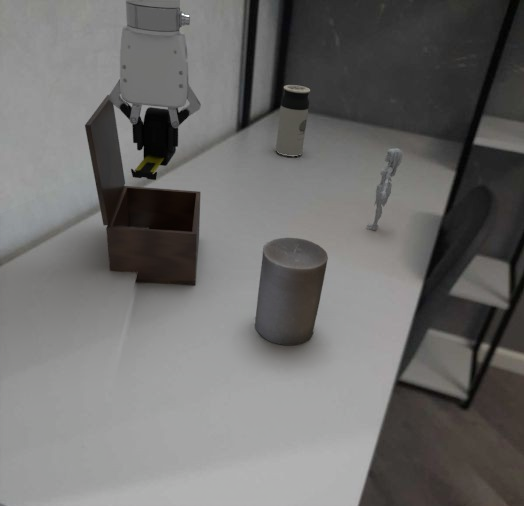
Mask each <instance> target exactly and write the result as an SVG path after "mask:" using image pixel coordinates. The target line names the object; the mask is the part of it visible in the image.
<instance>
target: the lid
mask: <svg viewBox="0 0 524 506" xmlns="http://www.w3.org/2000/svg"><path fill="white" fill-rule="evenodd" d="M109 95H110V94H107V95H105V97H104V99H103V100H102V101H101V103H100V104H99V106H98V107H97V108H96V109H95V111H94V112H93V113H92V115H91V116H90V118H89V119H88V120H87V121H86V123H85V124H84V127H85V128H84V129H85V134H86V140H87V144H88V150H89V155H90V160H91V166H92V172H93V177H94V182H95V183H94V184H95V187H96V191H97V199H98V203H99V209H100V214H101V220H102V224H103V225H102V226H107V225H109V222H110V220H111V217H112V215H113V212H114V210H115V207H116V205H117V202H118V200H119V197H120V195H121V192H122V190H123V187H124V186H126V185H125V184H126V179H125V173H124V167H123V159H122V153H121V144H120V139H119V138H120V137H119V132H118V126H117V120H116V113H115V112H116V111H115V105H114V104H112V103H111V102H110V101H109V100H108V96H109Z"/></svg>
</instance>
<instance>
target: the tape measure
mask: <svg viewBox="0 0 524 506" xmlns="http://www.w3.org/2000/svg"><path fill="white" fill-rule="evenodd" d="M170 121H171V120H170V115H169V111H168V108H161V107H153V106H150V107H149V106H148V108H146V110H145V114H144V117H143V160H141V162H140V163H139V164H138V165H137V167H136V168H135V169H133V168H130V172H131V176H132V178H135V179H142V178H146V179H147V180H152V181H157V176H158V171H157V169H158V168H159V166H163V167H165V166H168V164H169V163H170V161H171V159H172V158H173V157H174V155H175V154H176V151H177V147H174V151H173V153H170V152H169V145H168V128H169V125H170Z"/></svg>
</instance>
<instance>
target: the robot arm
mask: <svg viewBox="0 0 524 506" xmlns="http://www.w3.org/2000/svg"><path fill="white" fill-rule="evenodd" d="M180 5H181V0H125V16H126V17H125V18H126V26H123V27H122V29H121V30H122V31H121V36H120V38H121V39H120V49H119V50H120V51H119V80H118V81H117V83H116V84H115V85H114V87H113V88H112V90H111V91H110V93H109V94H108V95H109V96H108V100H109V101H110V102H111V103H112V104H113V105H114V107H116V108H117V109H119V110H120V112H121V113H122V114H123V115H124V116H125V117H126V118H127V120H129V122H130V124H132V127H131V128H132V143H133V144H136V150H137V151H142V150H143V149H144V146H143V122H144V120H143V119H142V116H141V111H142V107H143V106H148V107H149V106H150V107H159V108H167V109H168V111H169V115H170V120H171V121H170V125H169V128H168V145H169V152H170V153H173V151H174V147H176V148H178V147H179V127H180V125H181V124H183V123H184V122H185V121H186V120H187V119H188V118H189V117H190V116H192V115H193V114H195V113H197V112H198V111H200V109H201V102H200V100H199V99H198V97H197V96H196V94H195V92H194V90H193V88H192V87H191V86H190V84H189V59H188V58H189V57H188V47H187V40H186V33H184V32H182V31H180V29H181V28H182V27H184V26H190V25H191V24H190V21H191V15H190V14H188V13H187V14H186V13H185V12H183V11H182V10H181V6H180ZM187 102H188V103H189V104H188V105H186V104H187ZM130 104H131V105H130ZM185 105H186V106H185ZM182 107H183V108H182ZM179 108H182V109H181V110H179Z"/></svg>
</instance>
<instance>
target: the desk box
mask: <svg viewBox="0 0 524 506" xmlns="http://www.w3.org/2000/svg"><path fill="white" fill-rule="evenodd" d="M200 217H201V191H196V190H185V189H184V190H183V189H170V188H159V187H144V186H134V185H133V186H132V185H124V187H123V190H122V192H121V195H120V197H119V200H118V202H117V205H116V207H115V210H114V212H113V215H112V217H111V220H110V222H109V225H106V227H105V230H106V241H107V255H108V264H109V272H122V273H136V277H135V282H134V283H149V284H150V283H153V284H169V285H187V286H196V284H197V283H196V282H197V270H198V269H197V268H198V257H199V245H200V244H199V243H200V225H201V223H200V222H201V221H200V219H201V218H200Z"/></svg>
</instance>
